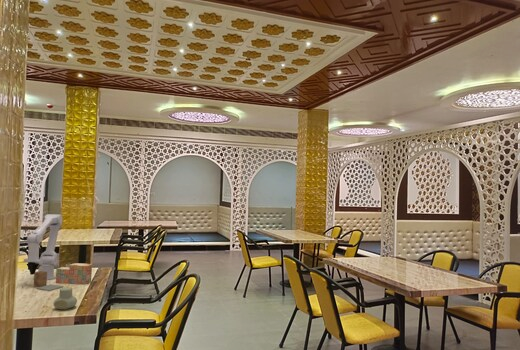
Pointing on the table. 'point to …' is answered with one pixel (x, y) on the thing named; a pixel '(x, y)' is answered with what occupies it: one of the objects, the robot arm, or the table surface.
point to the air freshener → (65, 299)
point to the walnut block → (40, 279)
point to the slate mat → (49, 287)
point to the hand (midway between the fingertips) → (32, 274)
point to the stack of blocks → (74, 274)
